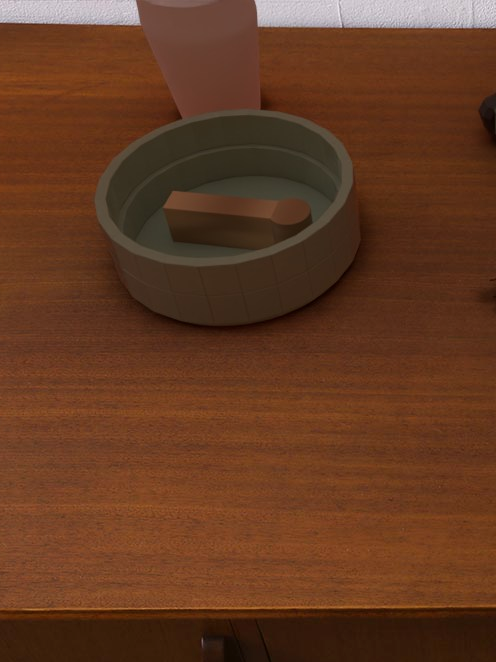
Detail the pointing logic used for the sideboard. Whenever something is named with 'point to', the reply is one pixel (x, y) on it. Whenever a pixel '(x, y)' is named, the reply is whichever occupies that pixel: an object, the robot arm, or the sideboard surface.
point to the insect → (493, 280)
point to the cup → (205, 52)
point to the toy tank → (489, 114)
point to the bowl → (236, 181)
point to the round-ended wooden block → (234, 220)
